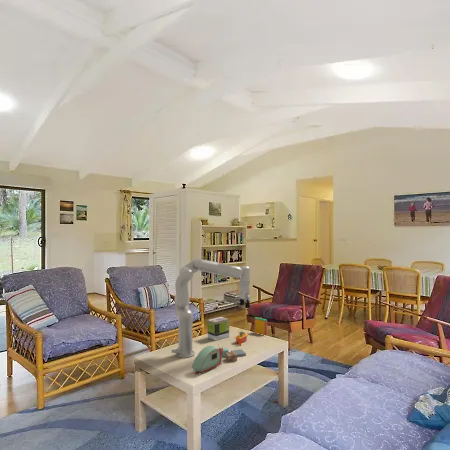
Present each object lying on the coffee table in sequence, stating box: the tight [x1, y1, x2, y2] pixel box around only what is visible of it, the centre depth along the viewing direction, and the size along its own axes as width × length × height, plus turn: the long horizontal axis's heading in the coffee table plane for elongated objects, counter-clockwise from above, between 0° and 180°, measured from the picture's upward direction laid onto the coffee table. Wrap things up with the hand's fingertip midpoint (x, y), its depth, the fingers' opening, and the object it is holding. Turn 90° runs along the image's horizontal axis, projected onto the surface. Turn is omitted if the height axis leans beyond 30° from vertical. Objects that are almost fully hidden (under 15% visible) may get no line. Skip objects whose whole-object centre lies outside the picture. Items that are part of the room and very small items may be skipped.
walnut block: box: [224, 351, 238, 363], centre depth 224 cm, size 6×6×5 cm
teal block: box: [221, 347, 229, 358], centre depth 232 cm, size 5×5×5 cm
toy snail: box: [192, 344, 224, 375], centre depth 212 cm, size 25×8×14 cm, turn 139°
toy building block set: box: [234, 316, 268, 346], centre depth 268 cm, size 12×35×14 cm, turn 139°
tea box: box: [206, 316, 230, 341], centre depth 272 cm, size 15×10×15 cm, turn 130°
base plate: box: [230, 348, 247, 358], centre depth 234 cm, size 8×8×2 cm
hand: (244, 306), depth 249 cm, fingers open, 9 cm apart
